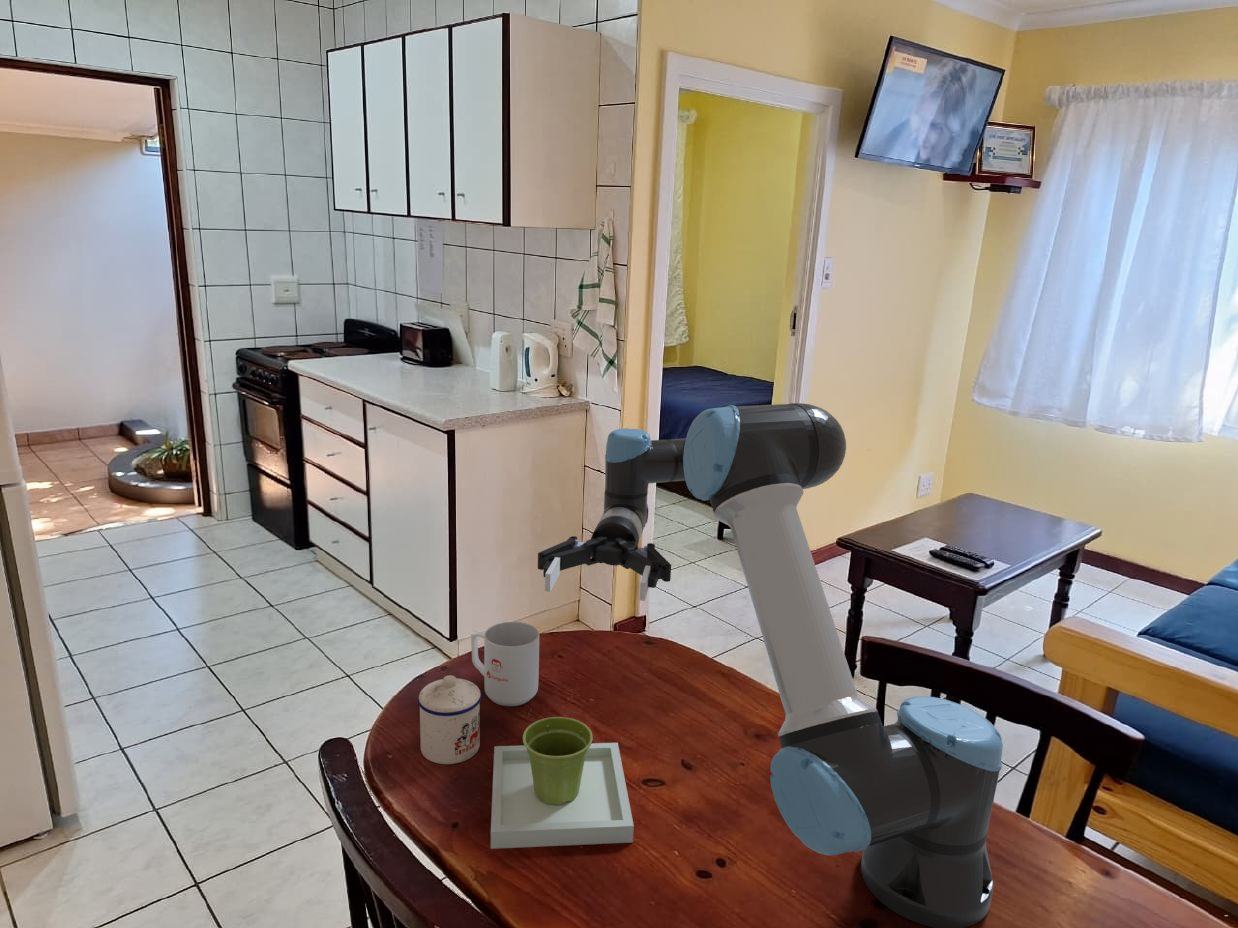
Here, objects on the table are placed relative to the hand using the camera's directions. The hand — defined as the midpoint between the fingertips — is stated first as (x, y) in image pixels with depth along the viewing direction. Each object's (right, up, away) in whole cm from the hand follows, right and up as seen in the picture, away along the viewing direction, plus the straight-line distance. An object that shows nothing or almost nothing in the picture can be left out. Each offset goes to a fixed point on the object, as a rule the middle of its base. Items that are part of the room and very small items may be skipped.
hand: (594, 587), depth 120 cm
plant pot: (-5, -28, -4) cm, 28 cm away
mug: (-16, -21, +22) cm, 34 cm away
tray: (-5, -28, -4) cm, 29 cm away
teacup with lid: (-21, -25, +8) cm, 34 cm away
